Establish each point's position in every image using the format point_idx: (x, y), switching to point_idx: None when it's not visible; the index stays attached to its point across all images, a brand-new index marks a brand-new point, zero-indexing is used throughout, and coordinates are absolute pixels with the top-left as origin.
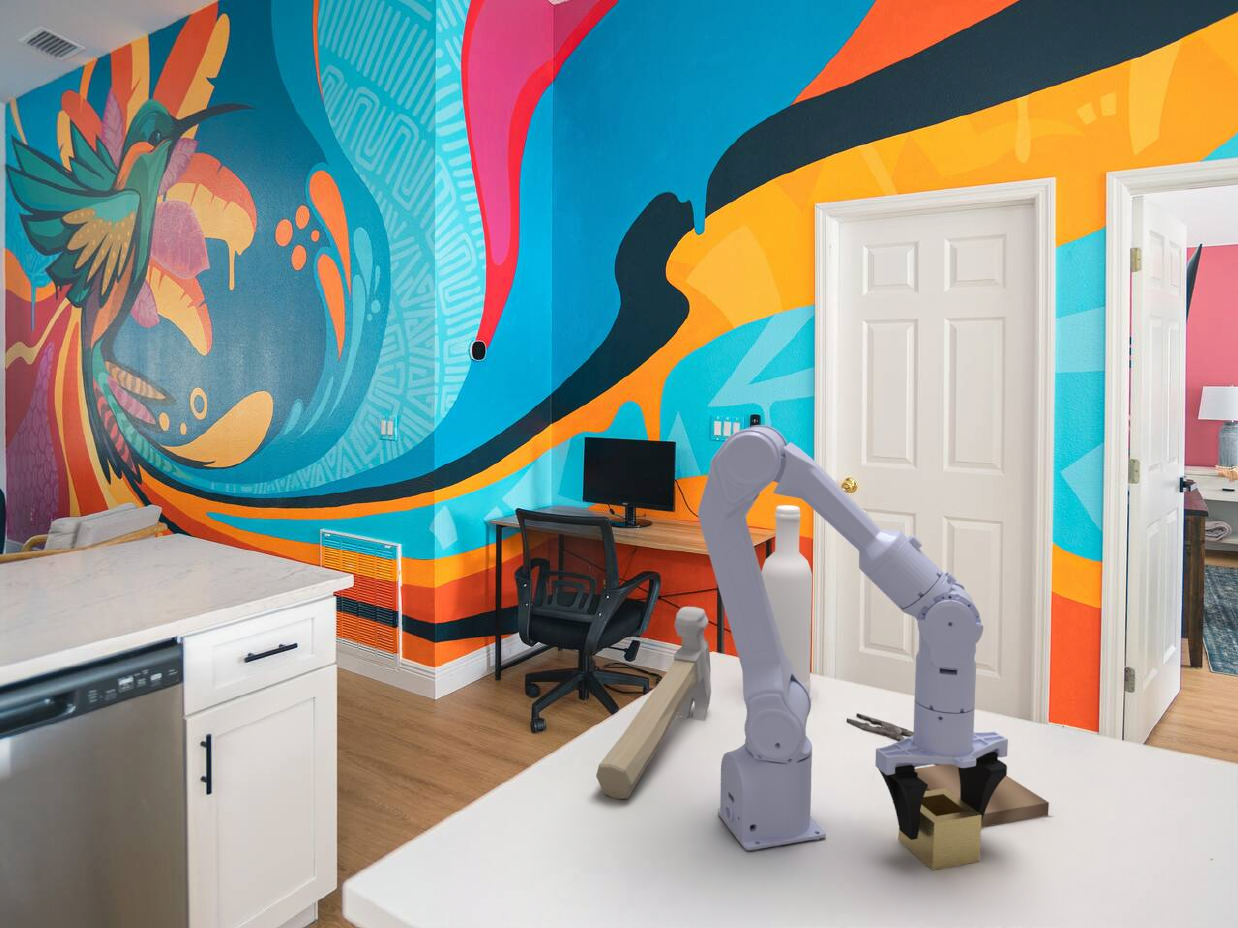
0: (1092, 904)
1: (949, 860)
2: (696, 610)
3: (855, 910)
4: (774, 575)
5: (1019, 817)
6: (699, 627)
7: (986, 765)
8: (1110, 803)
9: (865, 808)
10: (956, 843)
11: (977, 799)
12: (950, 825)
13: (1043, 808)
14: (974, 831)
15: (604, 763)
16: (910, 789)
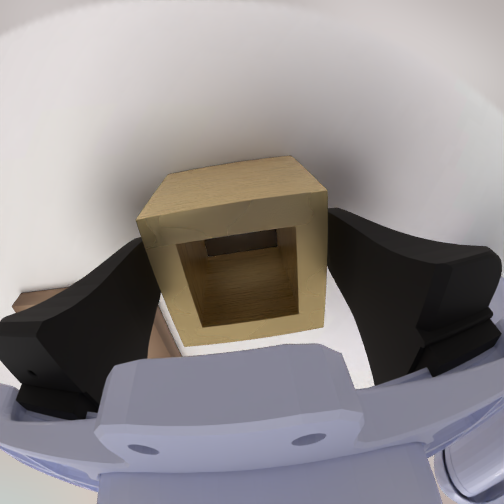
0: (43, 48)
1: (248, 163)
2: None
3: (462, 99)
4: None
5: (53, 291)
6: None
7: (54, 370)
8: None
9: (295, 339)
10: (231, 176)
11: (122, 282)
12: (259, 191)
13: (20, 300)
14: (170, 195)
15: None
16: (486, 248)
